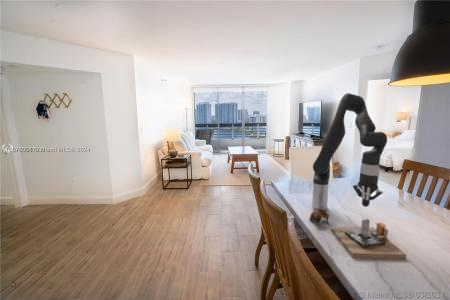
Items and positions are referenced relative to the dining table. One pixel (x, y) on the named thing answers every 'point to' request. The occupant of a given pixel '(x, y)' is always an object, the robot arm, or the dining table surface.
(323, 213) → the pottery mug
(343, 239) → the post base
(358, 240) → the knobbed grey plate
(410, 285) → the dining table surface
